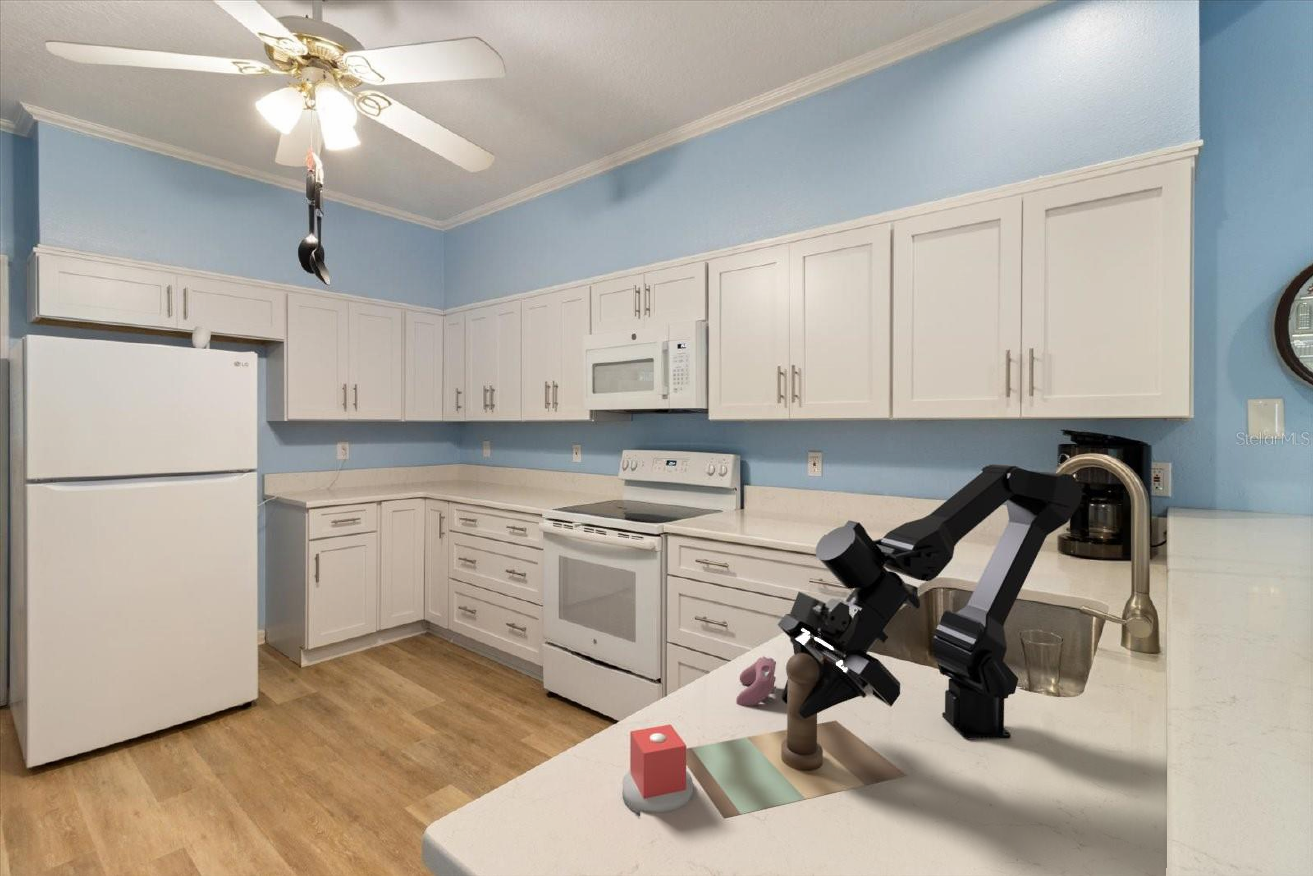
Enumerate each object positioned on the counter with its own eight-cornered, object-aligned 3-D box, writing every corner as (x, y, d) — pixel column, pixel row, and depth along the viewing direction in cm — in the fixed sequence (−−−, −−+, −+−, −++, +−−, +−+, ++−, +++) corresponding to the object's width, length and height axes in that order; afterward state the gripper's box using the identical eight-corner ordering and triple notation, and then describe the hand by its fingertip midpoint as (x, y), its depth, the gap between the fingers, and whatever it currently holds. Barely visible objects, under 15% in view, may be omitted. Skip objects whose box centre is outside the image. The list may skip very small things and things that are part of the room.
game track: (835, 724, 85) (835, 720, 85) (907, 780, 72) (907, 775, 72) (676, 755, 77) (676, 750, 77) (724, 823, 64) (724, 818, 64)
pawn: (816, 748, 78) (816, 646, 77) (827, 770, 73) (828, 662, 72) (777, 748, 78) (778, 646, 77) (786, 771, 73) (787, 662, 72)
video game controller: (761, 722, 89) (783, 682, 88) (733, 706, 90) (755, 666, 89) (762, 693, 99) (782, 656, 98) (737, 678, 99) (757, 642, 99)
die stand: (677, 769, 74) (677, 715, 74) (703, 808, 66) (704, 749, 66) (614, 781, 71) (614, 726, 71) (634, 824, 64) (634, 762, 64)
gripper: (790, 555, 85) (718, 642, 81) (880, 590, 67) (793, 703, 64) (837, 605, 87) (769, 692, 84) (936, 651, 70) (855, 763, 67)
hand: (792, 708), depth 75 cm, fingers closed on pawn, 4 cm apart
